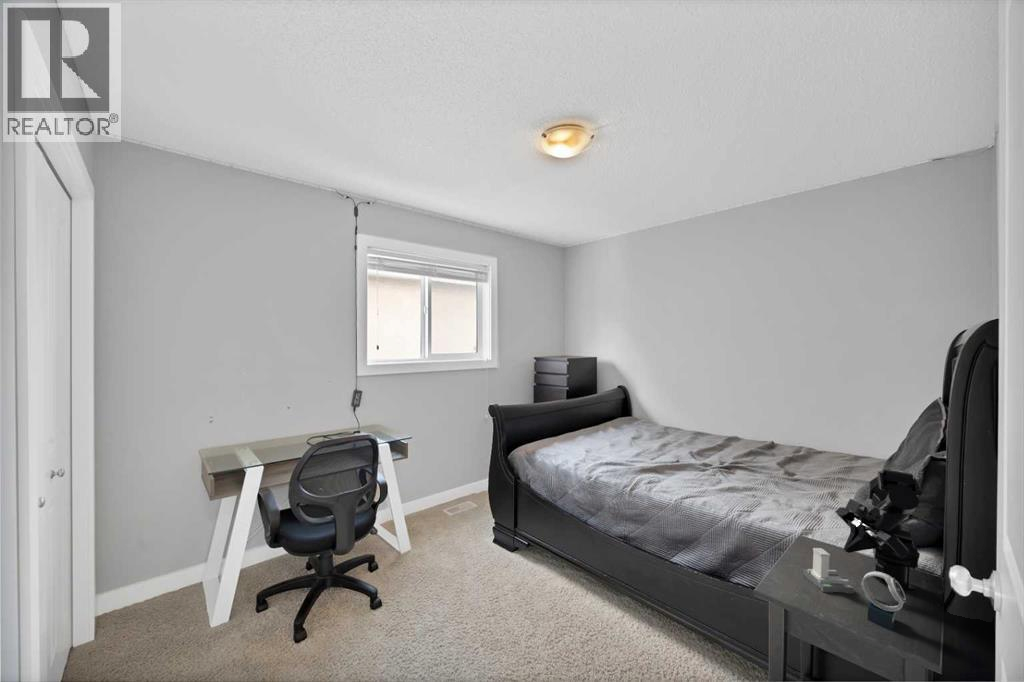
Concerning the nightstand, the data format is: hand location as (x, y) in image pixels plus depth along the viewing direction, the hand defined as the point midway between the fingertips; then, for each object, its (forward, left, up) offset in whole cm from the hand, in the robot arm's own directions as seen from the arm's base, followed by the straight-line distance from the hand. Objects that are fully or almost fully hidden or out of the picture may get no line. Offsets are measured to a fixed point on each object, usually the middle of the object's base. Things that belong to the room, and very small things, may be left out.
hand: (845, 550), depth 114 cm
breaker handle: (+7, 0, -8) cm, 10 cm away
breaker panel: (+5, 0, -9) cm, 10 cm away
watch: (+2, +14, -9) cm, 17 cm away
